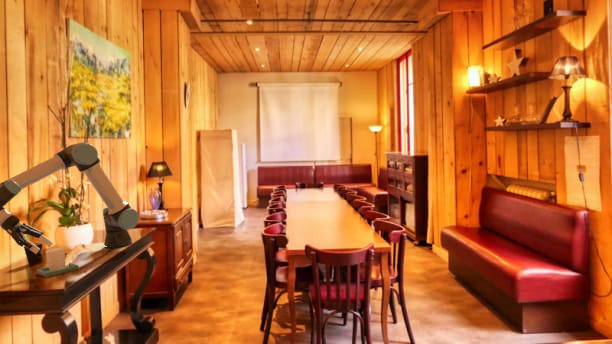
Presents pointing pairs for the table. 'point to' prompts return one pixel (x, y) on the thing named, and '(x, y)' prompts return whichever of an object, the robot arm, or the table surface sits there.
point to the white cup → (56, 259)
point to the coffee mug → (34, 255)
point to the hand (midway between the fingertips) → (45, 248)
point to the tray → (47, 273)
